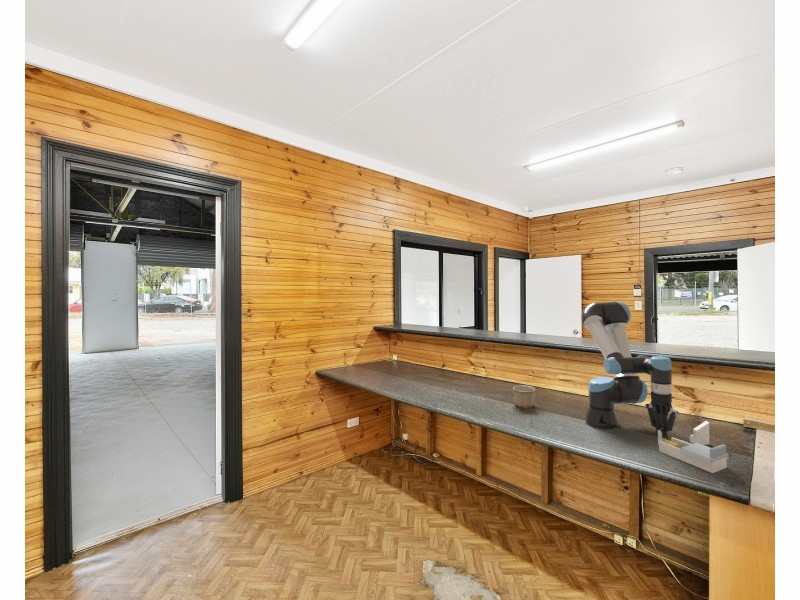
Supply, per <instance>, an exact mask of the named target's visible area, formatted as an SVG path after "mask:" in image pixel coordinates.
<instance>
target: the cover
mask: <svg viewBox="0 0 800 600" xmlns="http://www.w3.org/2000/svg"><path fill="white" fill-rule="evenodd" d="M690 444H691V445H688V446H685V447H682V448H680V454H683V455H685V456H688V457H690V458H693V459H695V460H698V461H700V462H703V463H705V464H708V465H710V466H711V465H712V461H715V460H718V459H720V458H723V457H727V460H729V453H728V452H727V445H726V444H723V443H722V444H719V445H717V446H714V447H710V446H708V445H702V444H699V443H690Z"/></svg>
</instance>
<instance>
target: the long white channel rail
mask: <svg viewBox="0 0 800 600" xmlns="http://www.w3.org/2000/svg"><path fill="white" fill-rule="evenodd" d="M670 441H671V442H674V443H677V444H679V448H678V447H675V446H672V445H670V444H667V443H665V442H662V441H659V445H658V451H659V452H660V453H662V454H665V455H666V456H670V457H672V458H673V459H677V460H679V461H682V462H684V463H687V464H689V465H692V466H695V467H696V468H699V469H702V470H703V471H706V472H709V473H711V474H714V473H717V472H719V471H722V470H725V469H726V468H727V467H728V465H727V460H728V459H727V457H723V458H720V459H718V460H715V461H712V465H711V466H710V465H708V464H705V463H703V462H700V461H698V460H695V459H693V458H690V457H688V456H685V455H683V454H680V448H682V447H685V446H688V445H691V444H692V443H691V442H687V441H685V440H682V439H680V438H676V437H674V436H673V437H671V438H670Z"/></svg>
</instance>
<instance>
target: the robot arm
mask: <svg viewBox="0 0 800 600" xmlns="http://www.w3.org/2000/svg"><path fill="white" fill-rule="evenodd" d="M631 316H632V314H631V310H630V308H629V306H628V305H627V304H626V303H624V302H623V301H607V302H603V301H602V302H592V303H590V304H588V305H587V306H585V308H584V309H583V310H582V313H581V322H582V325H583V327H584V328H585V329H587V330H588V331H589V332H590V335H591V336H592V339H593V340H594V342H595V344H596V345H597V347H598V348H599V351H600V352H601V354H602V356H603V357H604V360H603V362H602V363H603V369H604V372H606V373H607V374H609V375H614V376H613V378H611V377H609V376H608V377H607V376H599V377H594V378H591V379H590V380H589V382H588V387H587V388H588V409H587V412H586V415H585V423H586V424H587V425H588V424H589V426H590V425H591V426H590V427H593V426H594V427H593V428H596V427H597V429H601V428H602V429H603V430H613V429H617V428H618V427H620V426H619V425H620V424H619V422H620V421H619V418H618V417H617V414H616V410H615V405H621V404H622V405H630V404H632V405H635V404H642V403H644V402H645V401H646V400H647V398H648V393H649V392H648V385H647V384H646V381H644V380H643V379H641V378H640V375H639V374H647V375H649V376H650V390H651V392H650V400H651V401H650V402H649V403H645V407H646V410H647V412H648V416H649V417H648V418H649V421H650V425H651V427H654V428H655V429H656V430H655V433H656V434H655V435H656V437H657V445H658V446H659V441H664V440H667V438H668V432H671V431H673V427H674V425H675V421H676V418H677V416H678V415H679V411H678V410H675V409H674V408H673V406H672V405H673V404H672V402H673V394H672V392H673V390H672V389H673V386H672V378H673V374H672V373H673V372H672V371H673V370H672V369H673V365H672V360H671V358H670V357H668V356H664V355H663V356H661V355H654V356H651V357H650V356H648V355H644V354H643V355H642V354H639V355H637V356H635V357H633V356H632V354H631V353H632V352H631V347H630V343H629V340H628V339H629V338H628V335H627V330H626V327H627V326H628V325H629V322H630V321H631Z"/></svg>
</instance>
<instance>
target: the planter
mask: <svg viewBox="0 0 800 600" xmlns="http://www.w3.org/2000/svg"><path fill="white" fill-rule="evenodd" d="M512 391H513V398H514V405H515V406H516V407H517V406H518V408H520V407H521V409H531V408H533V407H534V405H535V398H536V397H535V396H536V388H535V387H533V386H530V385H525V384H524V385H516V386H513V387H512Z"/></svg>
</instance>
